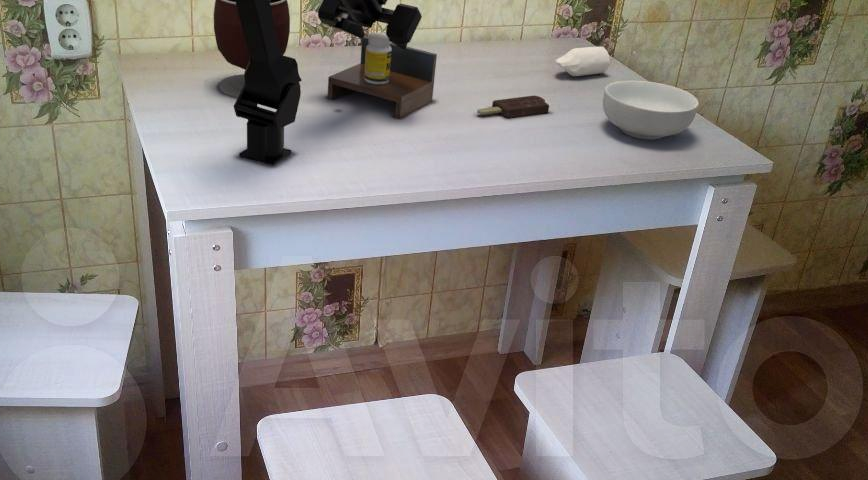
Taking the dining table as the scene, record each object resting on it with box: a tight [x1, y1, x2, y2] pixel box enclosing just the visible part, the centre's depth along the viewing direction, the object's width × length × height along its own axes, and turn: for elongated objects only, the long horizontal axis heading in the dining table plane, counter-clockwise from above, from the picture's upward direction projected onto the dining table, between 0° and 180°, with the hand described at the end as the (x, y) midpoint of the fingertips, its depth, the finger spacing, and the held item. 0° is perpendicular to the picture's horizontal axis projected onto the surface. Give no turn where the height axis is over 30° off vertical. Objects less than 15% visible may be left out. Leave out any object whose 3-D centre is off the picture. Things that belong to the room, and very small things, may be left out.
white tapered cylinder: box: [555, 46, 611, 77], centre depth 204 cm, size 6×12×6 cm, turn 119°
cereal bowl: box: [602, 79, 699, 141], centre depth 179 cm, size 17×17×7 cm
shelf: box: [327, 35, 438, 119], centre depth 184 cm, size 12×16×9 cm
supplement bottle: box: [364, 31, 392, 84], centre depth 181 cm, size 5×5×8 cm
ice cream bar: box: [476, 95, 550, 119], centre depth 185 cm, size 5×2×15 cm
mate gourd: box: [213, 0, 291, 99], centre depth 182 cm, size 16×14×20 cm
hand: (383, 41), depth 180 cm, fingers open, 9 cm apart
